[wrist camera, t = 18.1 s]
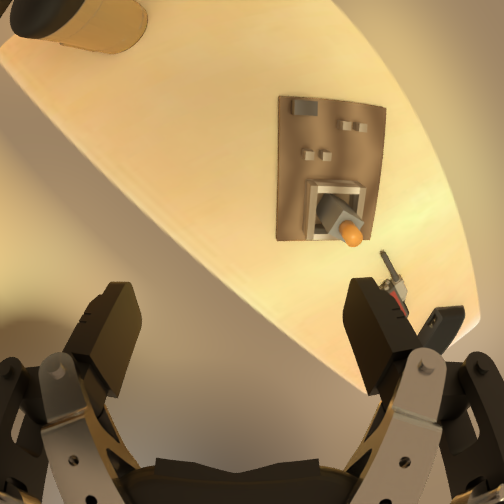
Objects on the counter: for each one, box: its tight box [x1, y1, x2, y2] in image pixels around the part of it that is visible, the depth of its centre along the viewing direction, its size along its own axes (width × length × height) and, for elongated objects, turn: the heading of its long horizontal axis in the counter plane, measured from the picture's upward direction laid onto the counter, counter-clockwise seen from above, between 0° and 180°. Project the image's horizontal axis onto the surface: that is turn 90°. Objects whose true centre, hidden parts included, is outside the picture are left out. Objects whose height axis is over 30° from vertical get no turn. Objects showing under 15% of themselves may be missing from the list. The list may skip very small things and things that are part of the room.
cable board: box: [276, 96, 386, 241], centre depth 37 cm, size 16×22×5 cm
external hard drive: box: [418, 305, 465, 355], centre depth 59 cm, size 13×19×4 cm
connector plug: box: [316, 193, 364, 247], centre depth 36 cm, size 4×4×11 cm
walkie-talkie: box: [379, 252, 409, 318], centre depth 50 cm, size 9×4×20 cm
